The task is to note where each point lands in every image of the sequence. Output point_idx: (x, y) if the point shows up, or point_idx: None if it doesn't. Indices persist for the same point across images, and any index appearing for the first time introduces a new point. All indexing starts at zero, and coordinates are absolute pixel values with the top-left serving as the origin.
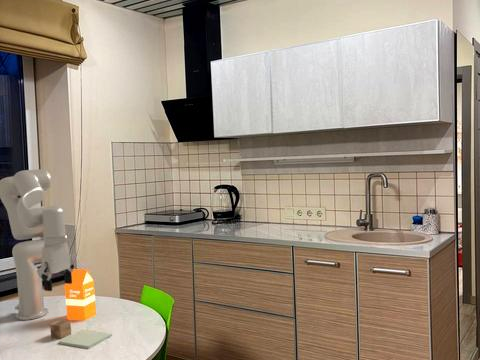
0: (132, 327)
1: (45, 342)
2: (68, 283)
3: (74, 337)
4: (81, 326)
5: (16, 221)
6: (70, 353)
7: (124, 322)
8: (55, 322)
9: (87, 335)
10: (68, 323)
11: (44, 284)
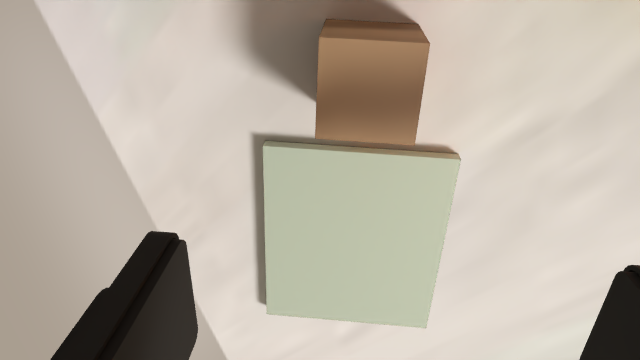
0: (544, 348)
1: (250, 47)
2: (600, 325)
3: (336, 192)
4: (547, 82)
5: None
6: (199, 267)
7: None
8: (369, 47)
9: (379, 238)
10: (394, 140)
11: (68, 344)
